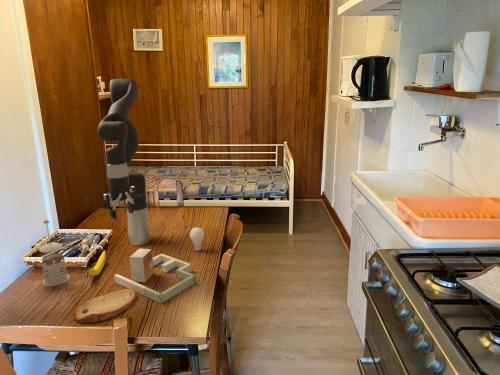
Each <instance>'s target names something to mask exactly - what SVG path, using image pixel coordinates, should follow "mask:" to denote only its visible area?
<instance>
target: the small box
mask: <svg viewBox="0 0 500 375" xmlns="http://www.w3.org/2000/svg"><path fill="white" fill-rule="evenodd" d="M153 258H154V257H153V250H152V249H151V248H150V249H149V248H138V249H137V250H136V251H135V252H133V254H131V255H130V256H129V265H130V273H131V274H130V275H131V280H132V281H134V282H136V283H146V282H147V281H148V280H149V279H150V278H151V277H152V276H153V274H154V272H155V270H154V266H153Z"/></svg>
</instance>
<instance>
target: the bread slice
mask: <svg viewBox="0 0 500 375" xmlns="http://www.w3.org/2000/svg"><path fill="white" fill-rule="evenodd" d="M137 300H138V293H137V292H135V291H133V290H132V289H129V288H124V289H118V290H116V291H112V292H108V293H106V294H103V295H99V296H97V297H94V298H91V299H88V300H87V301H86V300H85V301H84V302H82V303H81V304H80V305H79V306H78V307H77V308H76V310H75V313H74V316H73V320H74V322H75V323H77V324H79V325H80V324H81V325H82V324H87V323H99V322H103V321H105V320H109V319H112V318H114V317H116V316H118V315H119V314H121V313H123V312H125V311H126V310H128V309H130V308H131V307H132V306H133V305H134V304H135V303H136V302H137Z"/></svg>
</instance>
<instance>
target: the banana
mask: <svg viewBox="0 0 500 375" xmlns="http://www.w3.org/2000/svg"><path fill="white" fill-rule="evenodd" d="M106 254H107V253H106V250H103V251H102V253H101V254H100V256H99V257H98V260H97V262H96V264H95V266H94V267H93V268H90V267H88V268H87V272H88V273H89V275H92V276H98V275H100V274H101V273H102V271H103V268H104V266H105V261H106V257H107V256H106Z"/></svg>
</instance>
